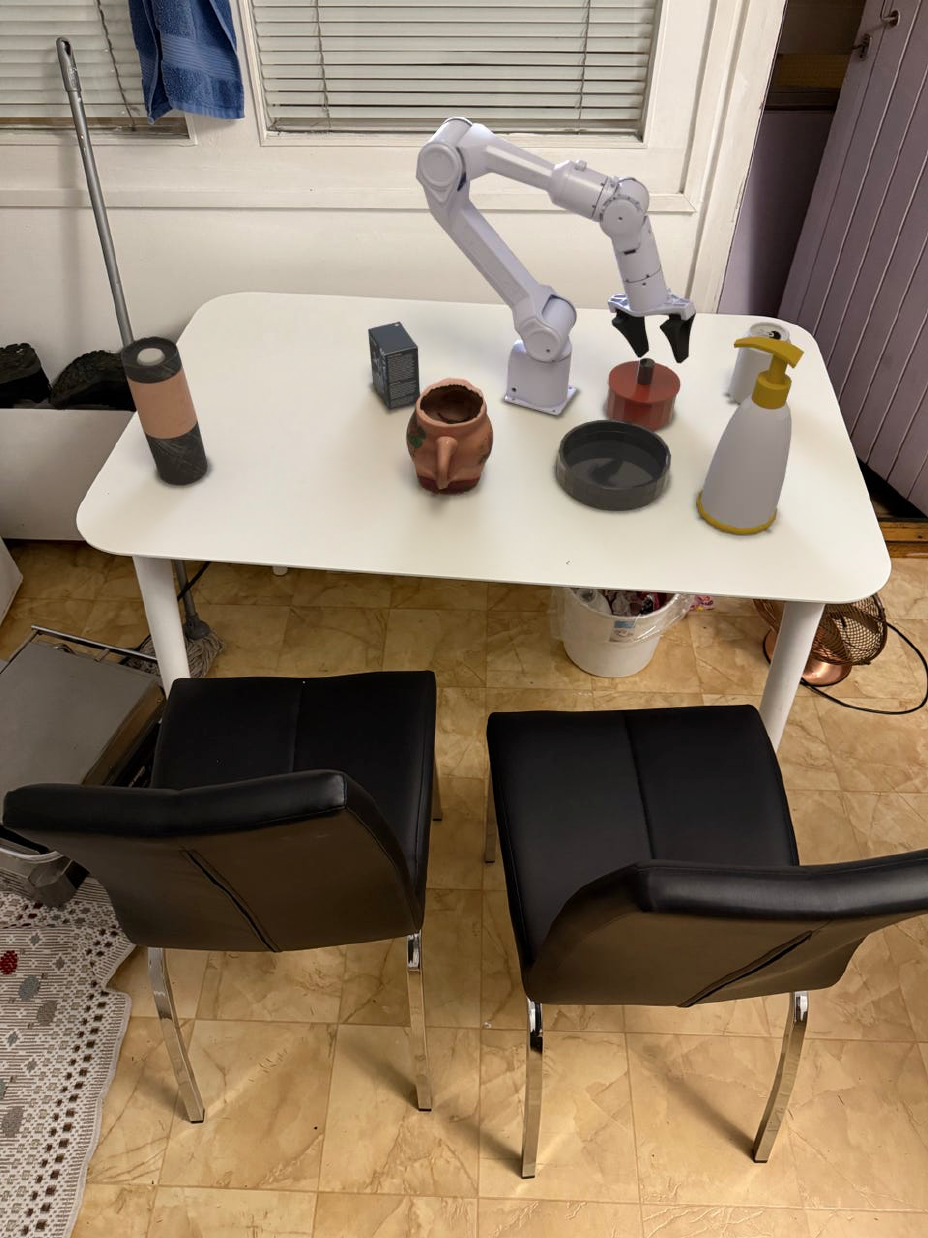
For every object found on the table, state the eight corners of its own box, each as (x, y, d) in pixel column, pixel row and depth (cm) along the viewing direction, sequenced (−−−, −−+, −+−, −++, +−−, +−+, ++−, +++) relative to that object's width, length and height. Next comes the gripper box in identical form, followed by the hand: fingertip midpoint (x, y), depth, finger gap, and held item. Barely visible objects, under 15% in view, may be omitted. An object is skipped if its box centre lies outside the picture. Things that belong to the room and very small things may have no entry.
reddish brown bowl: (596, 421, 145) (600, 392, 141) (619, 386, 151) (623, 358, 147) (659, 439, 142) (665, 410, 137) (679, 403, 148) (686, 374, 144)
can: (774, 413, 146) (795, 346, 137) (727, 407, 147) (744, 341, 138) (773, 386, 151) (793, 320, 142) (727, 381, 152) (744, 315, 143)
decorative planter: (493, 529, 128) (496, 450, 118) (406, 530, 128) (401, 450, 117) (489, 441, 141) (492, 362, 131) (410, 441, 141) (406, 362, 131)
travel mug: (219, 459, 138) (189, 342, 123) (193, 491, 133) (158, 372, 118) (174, 449, 140) (140, 331, 125) (147, 480, 135) (107, 361, 120)
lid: (596, 396, 141) (599, 371, 138) (621, 359, 148) (624, 335, 144) (666, 415, 138) (671, 390, 134) (688, 377, 144) (693, 352, 141)
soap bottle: (709, 474, 136) (751, 313, 116) (786, 500, 132) (842, 338, 112) (682, 518, 129) (721, 355, 110) (761, 547, 126) (816, 384, 106)
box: (372, 385, 151) (367, 327, 143) (404, 377, 152) (401, 320, 145) (388, 411, 146) (384, 353, 138) (421, 403, 148) (419, 345, 140)
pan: (539, 490, 133) (541, 468, 130) (580, 429, 143) (583, 408, 140) (645, 524, 129) (649, 502, 126) (680, 458, 138) (685, 437, 135)
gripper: (700, 258, 125) (718, 346, 133) (620, 255, 135) (642, 337, 144) (667, 285, 122) (688, 373, 131) (589, 280, 133) (613, 362, 141)
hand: (662, 356), depth 137 cm, fingers open, 7 cm apart
